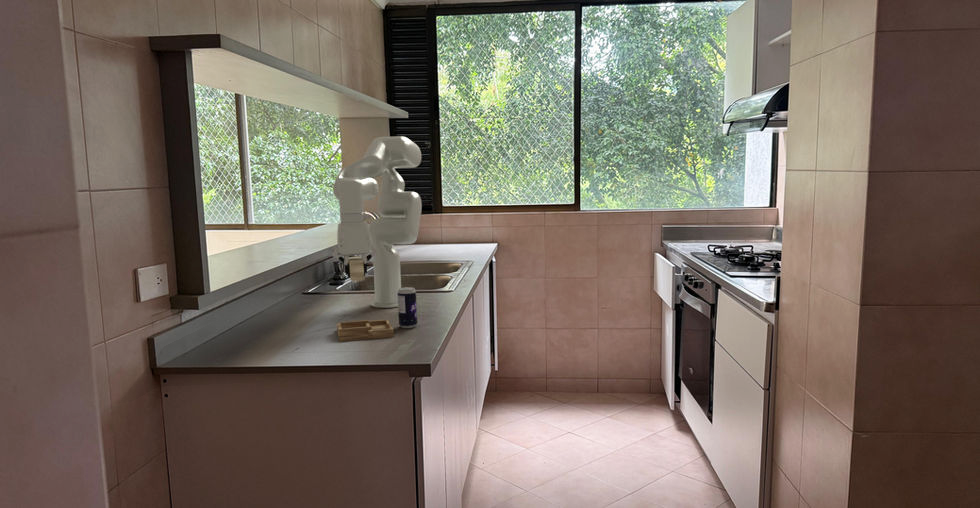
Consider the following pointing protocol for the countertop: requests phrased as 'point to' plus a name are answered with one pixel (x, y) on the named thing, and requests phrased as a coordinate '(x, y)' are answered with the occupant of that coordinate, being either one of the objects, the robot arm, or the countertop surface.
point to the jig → (364, 330)
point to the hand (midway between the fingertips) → (356, 275)
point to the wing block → (356, 268)
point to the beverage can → (407, 307)
